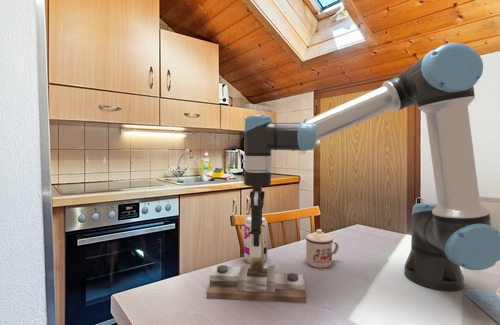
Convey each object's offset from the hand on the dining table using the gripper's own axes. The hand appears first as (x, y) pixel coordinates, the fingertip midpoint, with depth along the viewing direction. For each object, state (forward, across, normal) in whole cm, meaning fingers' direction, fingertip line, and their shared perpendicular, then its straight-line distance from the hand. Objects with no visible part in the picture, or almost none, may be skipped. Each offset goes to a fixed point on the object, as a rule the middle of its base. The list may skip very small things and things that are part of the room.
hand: (256, 253), depth 77 cm
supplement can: (+10, -20, -2) cm, 22 cm away
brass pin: (+4, 0, 0) cm, 4 cm away
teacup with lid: (+10, -20, +22) cm, 31 cm away
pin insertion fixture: (+10, 0, 0) cm, 10 cm away
